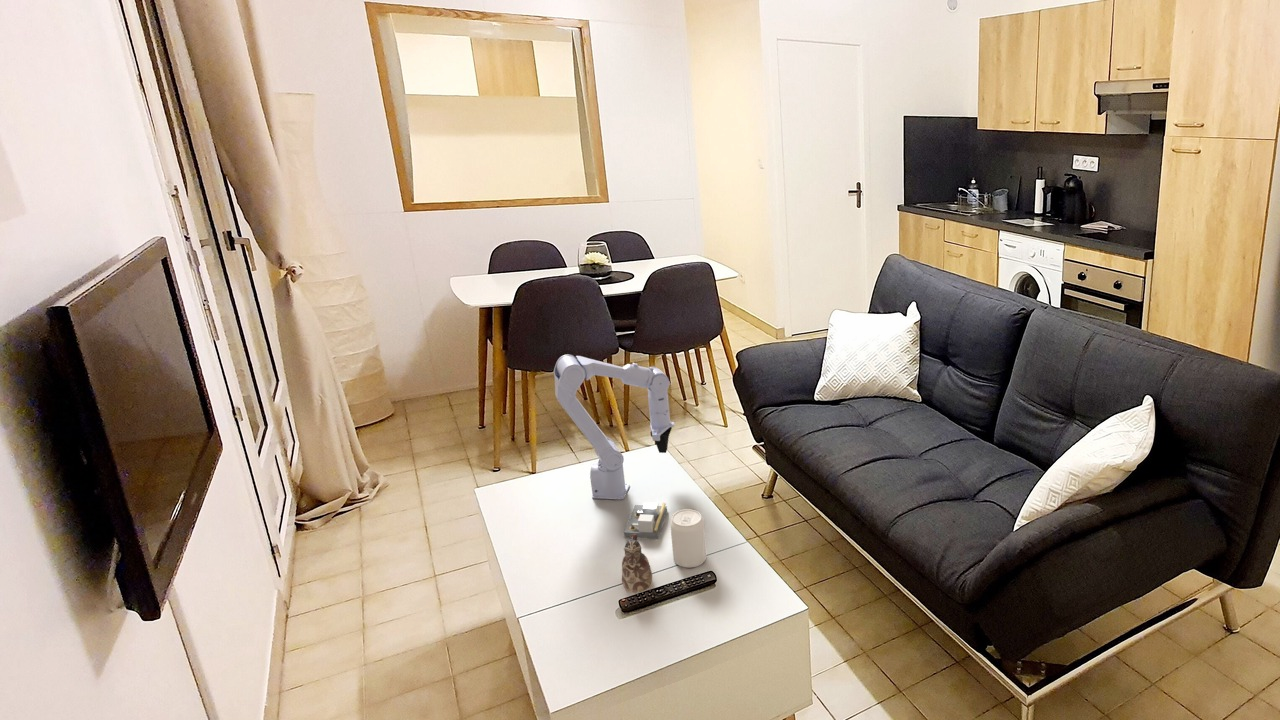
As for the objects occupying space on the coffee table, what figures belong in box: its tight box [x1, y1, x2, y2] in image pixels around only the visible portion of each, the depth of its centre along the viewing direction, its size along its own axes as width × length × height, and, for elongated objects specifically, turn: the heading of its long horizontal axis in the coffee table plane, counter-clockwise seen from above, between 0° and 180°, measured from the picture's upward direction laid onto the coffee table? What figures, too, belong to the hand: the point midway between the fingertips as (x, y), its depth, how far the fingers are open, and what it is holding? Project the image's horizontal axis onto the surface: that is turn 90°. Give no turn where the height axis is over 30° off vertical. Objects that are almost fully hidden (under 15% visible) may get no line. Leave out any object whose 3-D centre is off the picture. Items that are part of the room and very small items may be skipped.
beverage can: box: [669, 508, 707, 568], centre depth 168 cm, size 8×8×12 cm
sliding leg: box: [636, 501, 659, 519], centre depth 186 cm, size 6×3×3 cm, turn 77°
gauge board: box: [623, 502, 668, 540], centre depth 185 cm, size 9×13×5 cm
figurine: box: [621, 534, 653, 594], centre depth 162 cm, size 7×7×12 cm
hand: (663, 451), depth 204 cm, fingers closed
